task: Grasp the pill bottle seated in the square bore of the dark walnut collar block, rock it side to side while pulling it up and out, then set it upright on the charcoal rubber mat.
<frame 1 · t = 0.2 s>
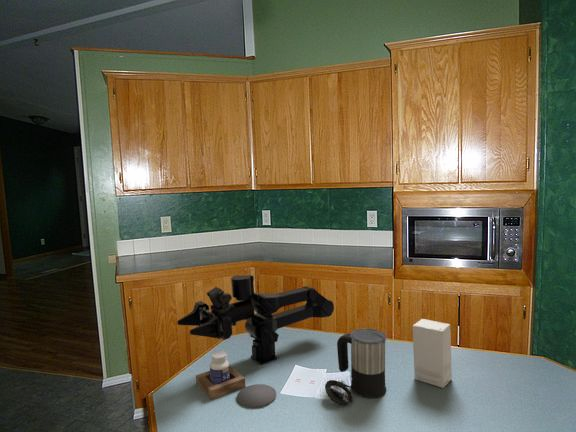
hand: (183, 327, 104), 17 cm above the table, tool horizontal, fingers open, 9 cm apart
mat: (256, 396, 99), on the table
pill bottle: (220, 386, 105), resting in collar block
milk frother: (356, 394, 99), on the table
skincare box: (432, 380, 104), on the table
collar block: (220, 385, 105), on the table
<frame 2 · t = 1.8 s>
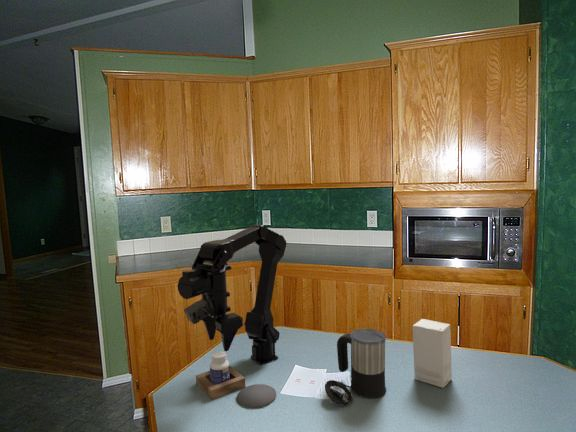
hand: (218, 345, 104), 11 cm above the table, tool pointing down, fingers open, 9 cm apart
nothing on the table moved.
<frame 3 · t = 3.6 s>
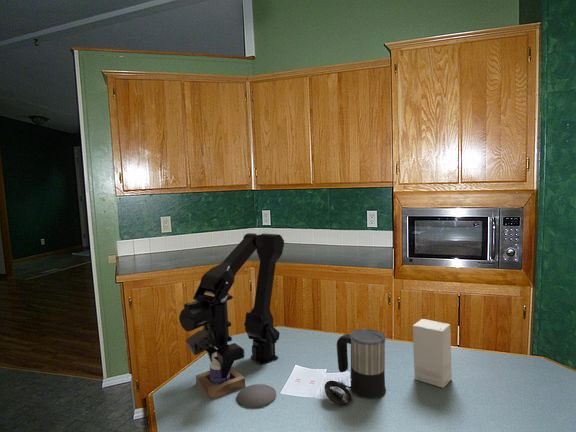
hand: (220, 374, 104), 3 cm above the table, tool pointing down, fingers closed on pill bottle, 5 cm apart
pill bottle: (220, 386, 105), resting in collar block, touching gripper
everything else where it was.
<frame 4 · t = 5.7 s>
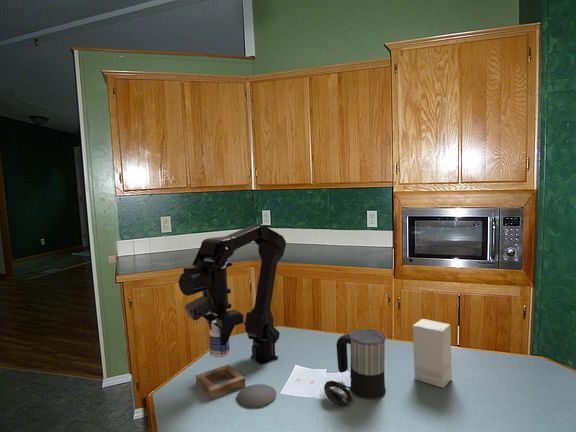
hand: (219, 342, 103), 12 cm above the table, tool pointing down, fingers closed on pill bottle, 5 cm apart
pill bottle: (220, 354, 104), point 9 cm above the table, touching gripper
everything else where it was.
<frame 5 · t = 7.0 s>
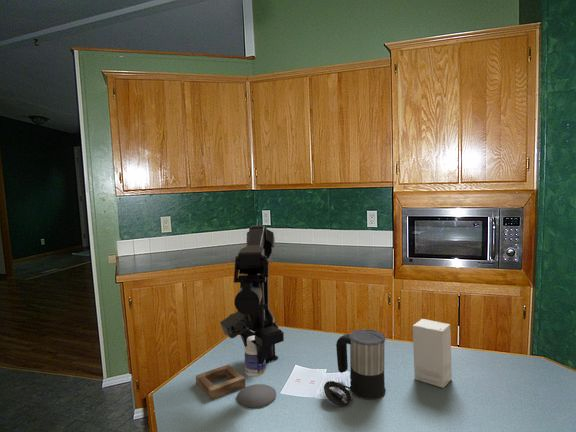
hand: (255, 359, 98), 10 cm above the table, tool pointing down, fingers closed on pill bottle, 5 cm apart
pill bottle: (255, 372, 98), point 6 cm above the table, touching gripper
everything else where it was.
when the fingers open (5 cm above the table, at t = 8.2 s): pill bottle drops 1 cm, resting on mat.
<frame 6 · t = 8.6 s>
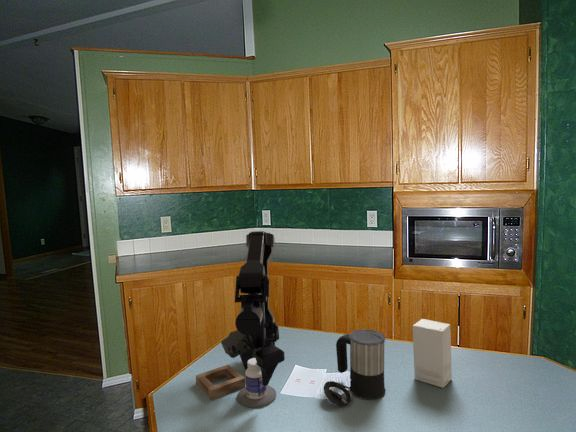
hand: (256, 378, 98), 5 cm above the table, tool pointing down, fingers open, 9 cm apart
pill bottle: (256, 394, 99), resting on mat
everything else where it was.
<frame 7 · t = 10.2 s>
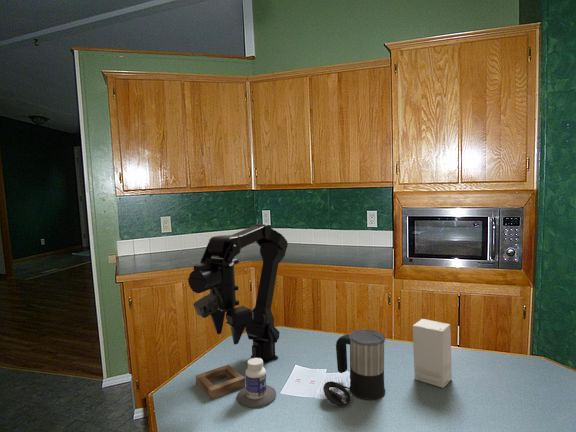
hand: (227, 338, 104), 13 cm above the table, tool pointing down, fingers open, 9 cm apart
nothing on the table moved.
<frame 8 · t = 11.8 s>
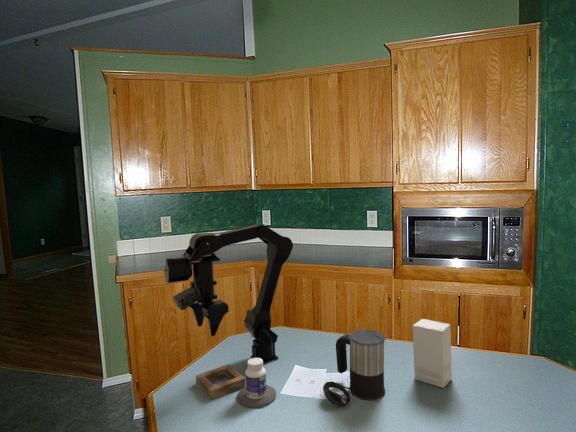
hand: (206, 330, 110), 13 cm above the table, tool pointing down, fingers open, 9 cm apart
nothing on the table moved.
at the end: pill bottle inside the target area on the mat (0.1 cm from its centre), point 0.4 cm above the mat's base; pill bottle tilted 0°; the gripper is holding nothing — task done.
